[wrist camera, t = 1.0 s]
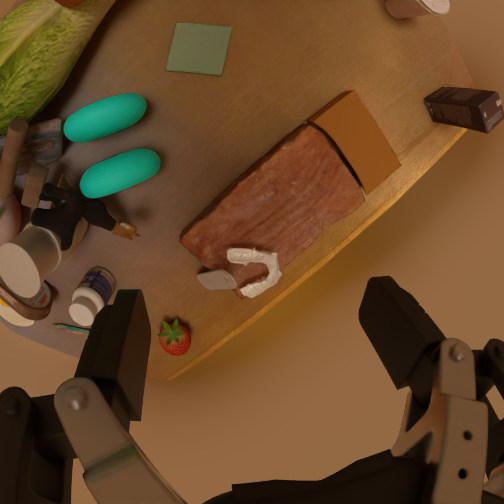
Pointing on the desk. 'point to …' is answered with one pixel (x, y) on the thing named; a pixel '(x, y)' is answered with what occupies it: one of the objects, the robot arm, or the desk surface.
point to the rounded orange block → (69, 2)
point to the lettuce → (41, 53)
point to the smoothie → (416, 7)
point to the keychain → (217, 280)
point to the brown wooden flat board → (294, 191)
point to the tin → (28, 302)
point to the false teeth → (256, 256)
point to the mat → (199, 48)
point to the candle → (34, 257)
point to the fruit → (174, 338)
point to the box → (466, 108)
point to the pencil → (72, 329)
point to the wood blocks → (4, 174)
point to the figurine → (75, 215)
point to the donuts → (102, 124)
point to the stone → (40, 144)
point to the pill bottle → (91, 295)
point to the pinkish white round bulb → (9, 219)
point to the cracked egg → (13, 315)
